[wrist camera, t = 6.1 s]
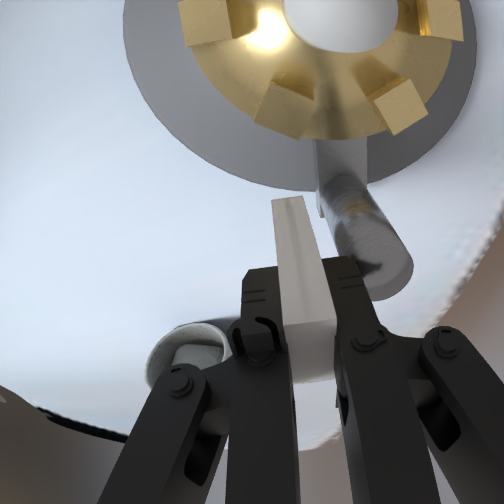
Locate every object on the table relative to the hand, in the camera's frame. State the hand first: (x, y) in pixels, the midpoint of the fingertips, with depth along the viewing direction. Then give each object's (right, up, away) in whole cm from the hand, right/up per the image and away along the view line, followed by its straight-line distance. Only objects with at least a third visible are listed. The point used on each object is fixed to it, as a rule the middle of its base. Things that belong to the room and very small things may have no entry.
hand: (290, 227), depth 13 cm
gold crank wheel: (+2, +9, 0) cm, 9 cm away
